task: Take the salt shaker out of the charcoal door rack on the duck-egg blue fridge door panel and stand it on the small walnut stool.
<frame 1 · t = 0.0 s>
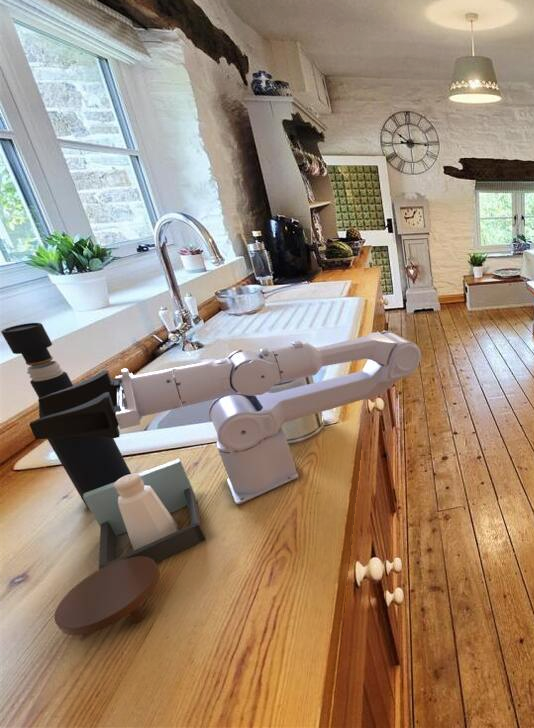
hand: (37, 418, 50), 22 cm above the worktop, tool horizontal, fingers open, 7 cm apart
stool: (122, 611, 50), on the worktop
coffee can: (298, 430, 85), on the worktop
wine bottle: (112, 495, 68), on the worktop
salt shaker: (157, 539, 60), resting in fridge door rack
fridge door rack: (157, 538, 60), on the worktop
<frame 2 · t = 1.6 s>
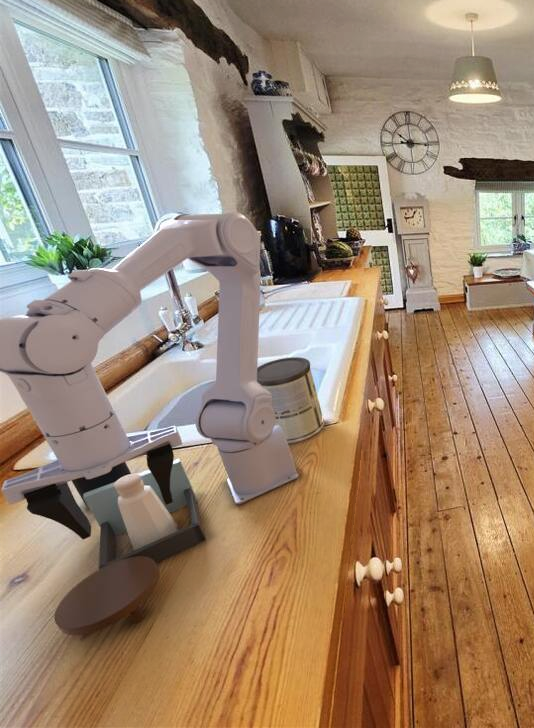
hand: (129, 515, 50), 10 cm above the worktop, tool pointing down, fingers open, 7 cm apart
nothing on the worktop moved.
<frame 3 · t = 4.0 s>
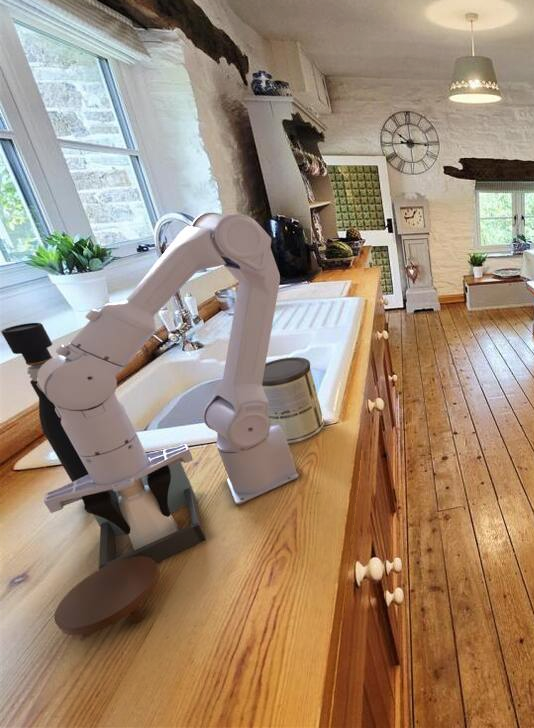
hand: (148, 521, 58), 3 cm above the worktop, tool pointing down, fingers closed on salt shaker, 3 cm apart
salt shaker: (157, 539, 60), resting in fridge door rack, touching gripper
everything else where it was.
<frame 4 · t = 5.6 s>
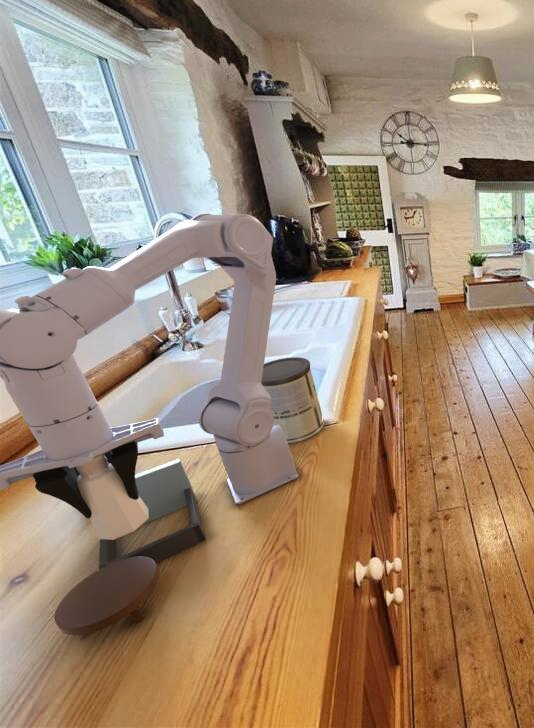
hand: (113, 504, 52), 10 cm above the worktop, tool pointing down, fingers closed on salt shaker, 3 cm apart
salt shaker: (125, 525, 53), point 7 cm above the worktop, touching gripper
everything else where it was.
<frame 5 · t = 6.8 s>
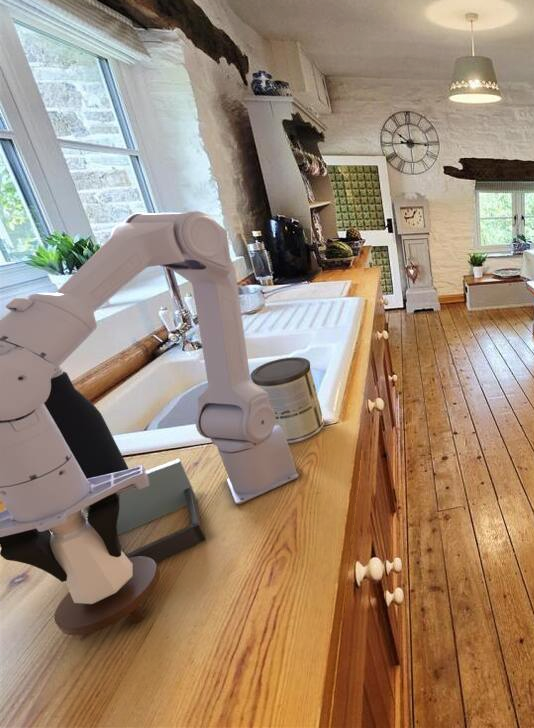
hand: (92, 563, 46), 8 cm above the worktop, tool pointing down, fingers closed on salt shaker, 3 cm apart
salt shaker: (106, 584, 48), point 5 cm above the worktop, touching gripper
everything else where it was.
when the fingers open (7 cm above the worktop, at t = 7.5 s): salt shaker stays where it is, resting on stool.
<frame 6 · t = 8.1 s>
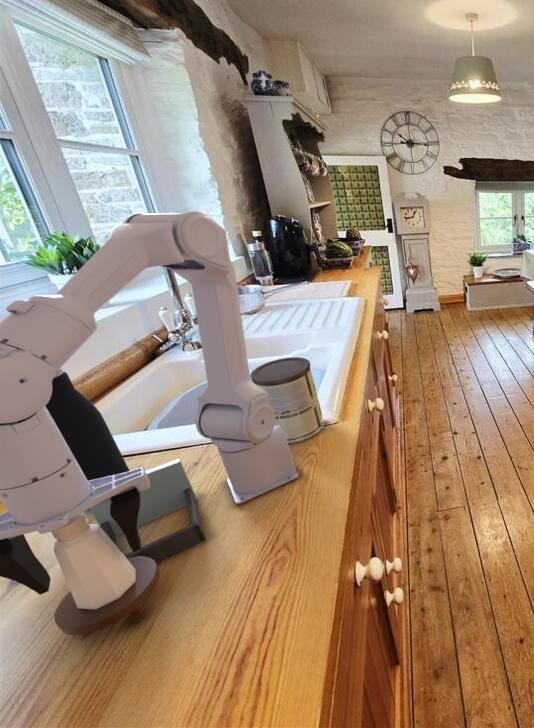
hand: (93, 565, 46), 8 cm above the worktop, tool pointing down, fingers open, 7 cm apart
salt shaker: (109, 589, 48), point 4 cm above the worktop, touching stool
everything else where it was.
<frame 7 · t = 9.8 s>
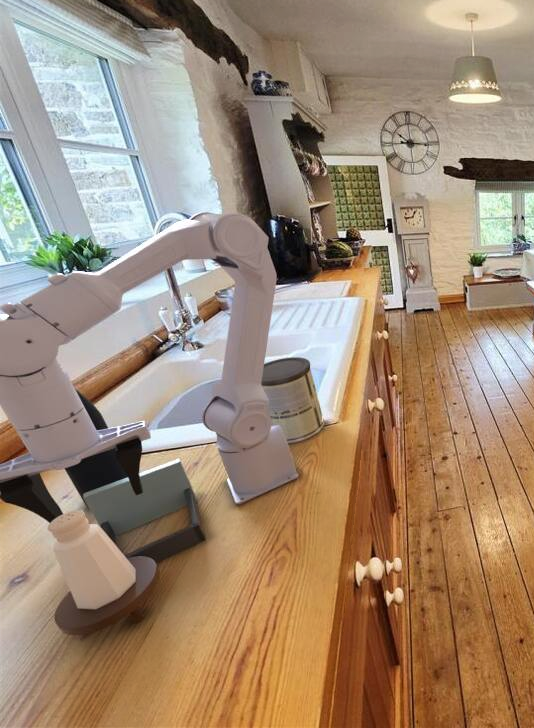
hand: (101, 505, 53), 10 cm above the worktop, tool pointing down, fingers open, 7 cm apart
nothing on the worktop moved.
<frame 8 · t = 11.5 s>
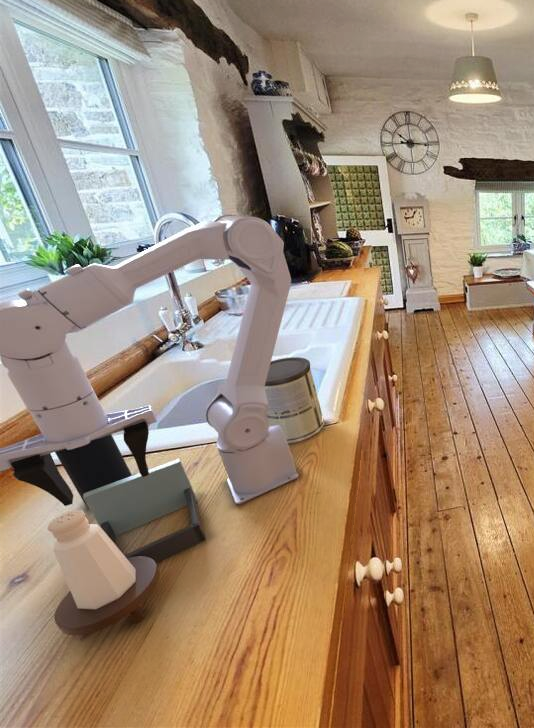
hand: (108, 486, 55), 10 cm above the worktop, tool pointing down, fingers open, 7 cm apart
nothing on the worktop moved.
at the end: salt shaker 0.0 cm off-centre on the stool, point 3.8 cm above the stool's base; salt shaker tilted 0°; the gripper is holding nothing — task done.
